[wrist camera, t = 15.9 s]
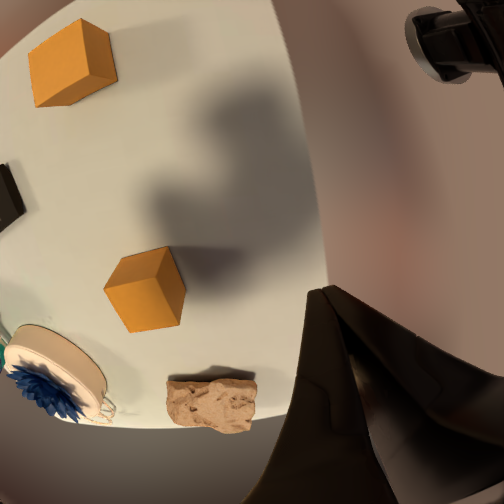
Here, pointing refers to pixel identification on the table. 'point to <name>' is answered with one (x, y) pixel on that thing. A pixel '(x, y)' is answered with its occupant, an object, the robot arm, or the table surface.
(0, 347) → the mug
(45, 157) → the table surface
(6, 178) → the remote control
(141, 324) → the ochre block middle
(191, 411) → the stone
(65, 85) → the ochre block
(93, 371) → the box with blue lotus
